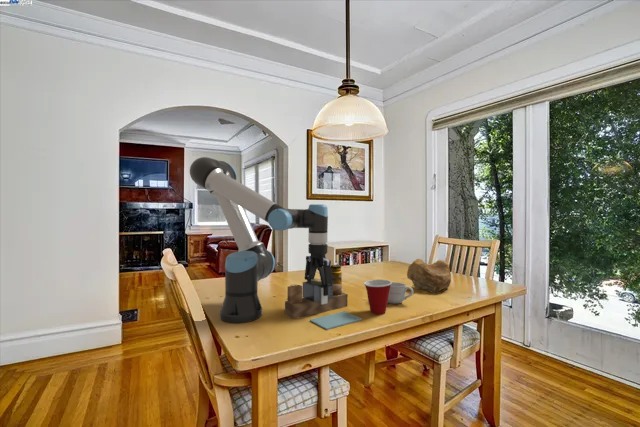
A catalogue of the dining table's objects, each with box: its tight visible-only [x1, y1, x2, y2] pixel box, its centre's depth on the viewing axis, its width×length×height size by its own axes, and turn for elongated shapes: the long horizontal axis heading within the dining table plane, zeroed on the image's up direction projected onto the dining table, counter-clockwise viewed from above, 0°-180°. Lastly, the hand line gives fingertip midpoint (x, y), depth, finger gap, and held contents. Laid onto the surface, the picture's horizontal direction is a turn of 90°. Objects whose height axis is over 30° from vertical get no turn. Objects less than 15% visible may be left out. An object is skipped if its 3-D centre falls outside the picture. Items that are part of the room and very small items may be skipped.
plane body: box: [284, 284, 349, 320], centre depth 122 cm, size 26×6×11 cm, turn 126°
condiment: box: [330, 264, 345, 292], centre depth 154 cm, size 7×8×12 cm
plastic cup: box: [363, 279, 393, 315], centre depth 120 cm, size 11×11×12 cm
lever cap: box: [302, 277, 333, 302], centre depth 122 cm, size 9×8×7 cm
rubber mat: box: [309, 311, 363, 331], centre depth 111 cm, size 16×10×1 cm, turn 126°
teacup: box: [387, 281, 414, 304], centre depth 133 cm, size 14×11×8 cm
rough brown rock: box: [406, 258, 452, 294], centre depth 155 cm, size 23×17×15 cm
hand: (317, 300), depth 122 cm, fingers closed on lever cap, 8 cm apart
